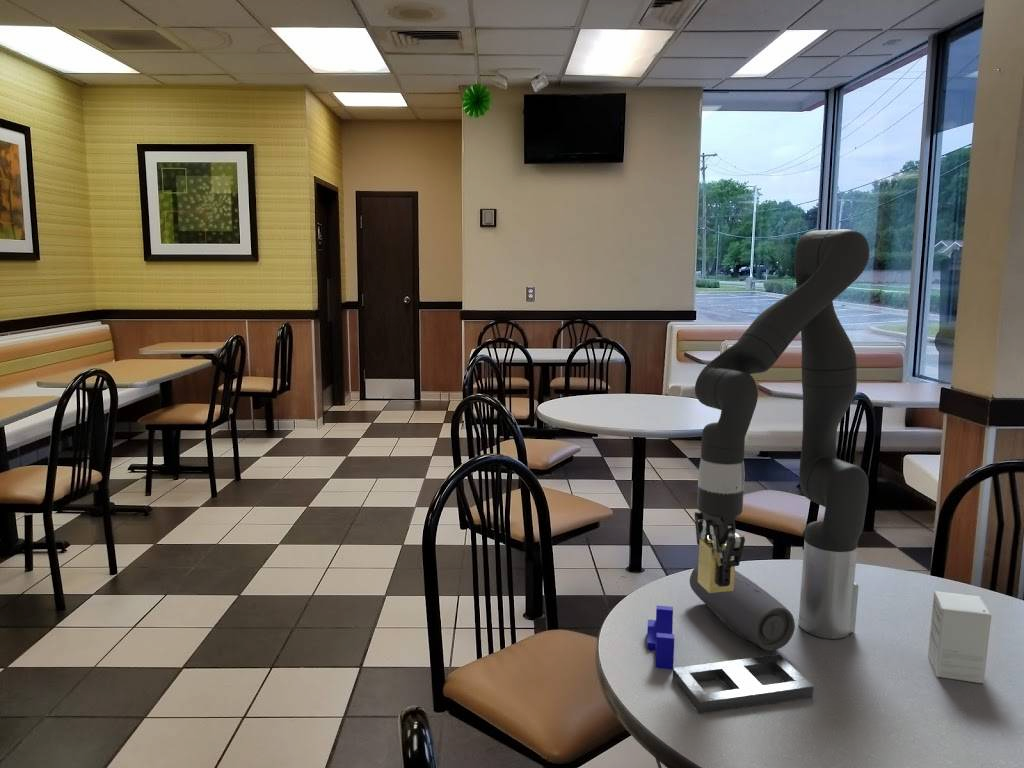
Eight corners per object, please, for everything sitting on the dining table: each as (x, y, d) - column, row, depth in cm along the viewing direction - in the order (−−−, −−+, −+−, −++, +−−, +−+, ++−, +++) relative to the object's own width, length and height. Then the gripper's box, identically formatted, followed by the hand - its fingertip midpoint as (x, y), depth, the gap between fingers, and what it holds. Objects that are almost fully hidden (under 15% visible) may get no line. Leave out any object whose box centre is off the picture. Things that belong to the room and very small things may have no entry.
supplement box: (973, 662, 133) (981, 595, 130) (984, 685, 126) (992, 614, 123) (926, 655, 135) (933, 589, 133) (934, 677, 128) (942, 607, 126)
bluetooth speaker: (796, 653, 136) (800, 601, 134) (751, 661, 133) (754, 608, 131) (725, 598, 157) (728, 553, 155) (686, 604, 154) (688, 558, 153)
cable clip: (647, 634, 143) (648, 604, 142) (671, 636, 142) (672, 606, 141) (646, 668, 131) (647, 636, 130) (673, 670, 130) (674, 638, 129)
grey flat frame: (778, 664, 132) (779, 654, 131) (812, 697, 122) (813, 686, 122) (672, 678, 127) (672, 668, 127) (699, 713, 118) (700, 702, 117)
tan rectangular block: (721, 579, 133) (723, 536, 132) (733, 590, 129) (736, 546, 128) (697, 581, 132) (699, 538, 131) (709, 593, 128) (711, 548, 127)
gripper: (763, 496, 121) (757, 595, 124) (720, 471, 135) (716, 561, 138) (720, 499, 120) (715, 599, 123) (682, 474, 134) (678, 564, 137)
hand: (715, 578), depth 131 cm, fingers closed on tan rectangular block, 4 cm apart
